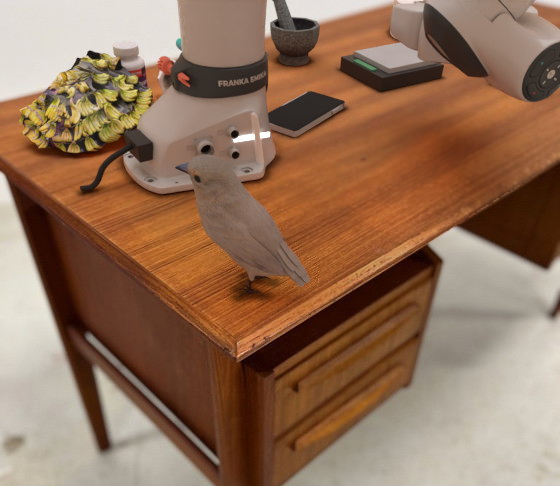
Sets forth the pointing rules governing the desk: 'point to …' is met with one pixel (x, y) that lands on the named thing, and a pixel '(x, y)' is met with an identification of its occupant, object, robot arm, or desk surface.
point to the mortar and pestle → (293, 35)
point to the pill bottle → (131, 59)
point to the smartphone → (303, 113)
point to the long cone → (165, 79)
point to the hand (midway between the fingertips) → (440, 5)
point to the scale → (390, 67)
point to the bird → (240, 223)
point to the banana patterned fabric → (86, 106)
